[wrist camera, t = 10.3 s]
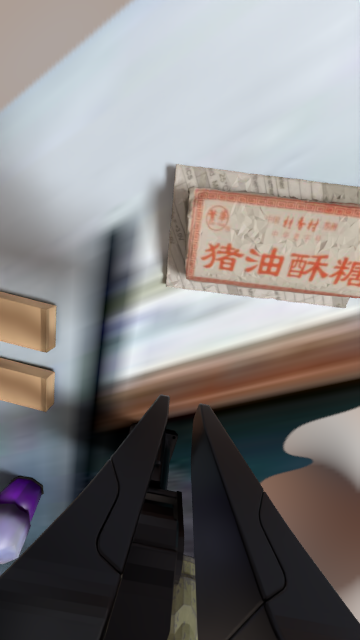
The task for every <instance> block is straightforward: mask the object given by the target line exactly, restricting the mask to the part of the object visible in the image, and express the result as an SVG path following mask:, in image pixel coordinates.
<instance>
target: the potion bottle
mask: <svg viewBox="0 0 360 640" xmlns="http://www.w3.org/2000/svg"><path fill="white" fill-rule="evenodd" d="M42 494H44V493H43V485H41V484H40V483H39V482H37V481H36V480H35V479H33V478H29V477H23V476H18V477H16V478H14V479H13V480H11V483H10V484H9V485H8V486H7V487H6V488H5V489H4V490H3V491H2V492H1V493H0V564H4V563H7V562H9V561H12V560H14V559H17V558H18V557H19V554H20V552H21V549H22V546H23V544H24V541H25V539H26V536H27V534H28V531H29V529H30V526H31V525H30V521H31V520H32V517H33V515H34V512H35V510H36V507H37V505H38V502H39V500H40V497H41V495H42Z"/></svg>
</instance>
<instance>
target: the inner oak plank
mask: <svg viewBox="0 0 360 640" xmlns="http://www.w3.org/2000/svg"><path fill="white" fill-rule="evenodd" d="M54 380H55V372H53V371H49V370H45V369H42V368H38V367H34V366H30V365H26V364H22V363H19V362H15V361H11V360H7V359H3V358H0V400H2V401H6V402H10V403H14V404H18V405H21V406H25V407H29V408H33V409H37V410H41V411H44V412H46V411H47V410H48V409H49V408H50V407H51V406H52V405H53V404H54Z"/></svg>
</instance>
